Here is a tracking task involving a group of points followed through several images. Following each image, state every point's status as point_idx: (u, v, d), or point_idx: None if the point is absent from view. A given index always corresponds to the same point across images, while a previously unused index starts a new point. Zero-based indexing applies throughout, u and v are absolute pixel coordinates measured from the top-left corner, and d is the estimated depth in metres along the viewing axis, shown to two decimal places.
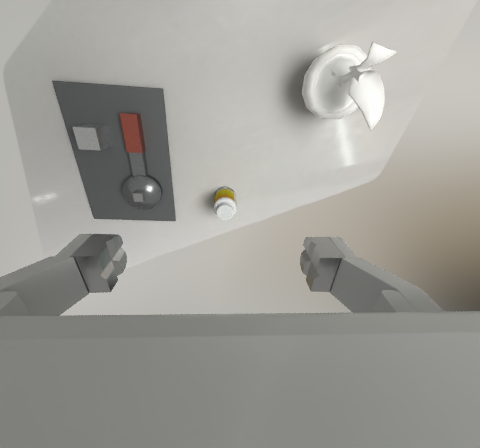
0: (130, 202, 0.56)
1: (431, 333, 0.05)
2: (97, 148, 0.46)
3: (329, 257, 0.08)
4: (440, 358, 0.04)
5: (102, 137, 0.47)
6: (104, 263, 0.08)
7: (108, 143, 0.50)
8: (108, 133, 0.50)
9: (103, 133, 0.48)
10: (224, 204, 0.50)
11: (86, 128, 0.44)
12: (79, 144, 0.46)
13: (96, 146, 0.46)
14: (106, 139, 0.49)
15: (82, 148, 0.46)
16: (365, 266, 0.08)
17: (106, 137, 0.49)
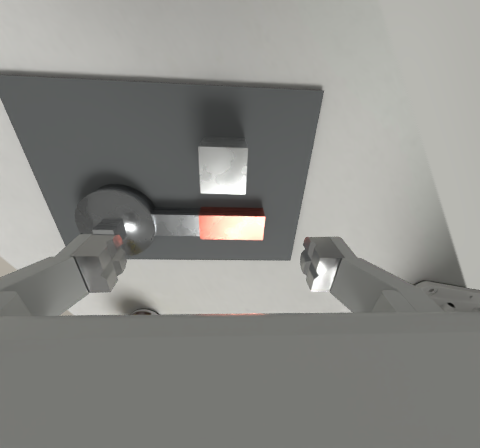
0: (85, 202, 0.25)
1: (431, 333, 0.05)
2: (204, 188, 0.21)
3: (329, 257, 0.08)
4: (440, 358, 0.04)
5: None
6: (104, 263, 0.08)
7: None
8: None
9: None
10: None
11: (244, 177, 0.21)
12: (209, 151, 0.19)
13: (208, 187, 0.21)
14: None
15: (201, 155, 0.20)
16: (365, 266, 0.08)
17: None
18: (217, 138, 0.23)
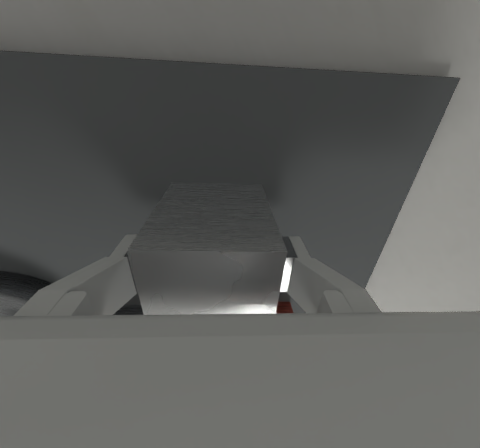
0: None
1: (431, 333, 0.05)
2: None
3: None
4: (440, 358, 0.04)
5: None
6: None
7: None
8: None
9: None
10: None
11: (270, 312, 0.08)
12: (165, 262, 0.06)
13: None
14: None
15: (140, 271, 0.06)
16: (316, 266, 0.08)
17: None
18: (200, 190, 0.10)
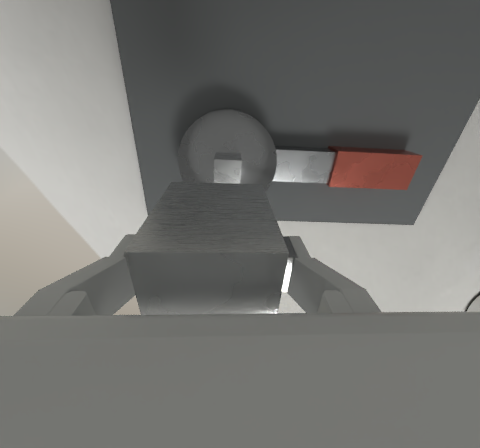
0: (198, 126, 0.18)
1: (431, 333, 0.05)
2: None
3: None
4: (440, 358, 0.04)
5: None
6: None
7: None
8: None
9: None
10: None
11: None
12: (164, 264, 0.06)
13: None
14: None
15: (138, 273, 0.06)
16: (316, 266, 0.08)
17: None
18: (199, 190, 0.10)
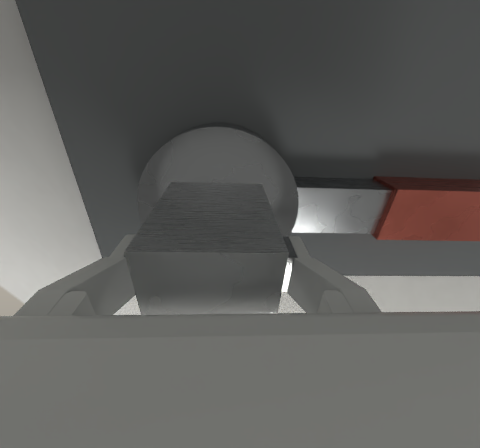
0: (168, 154, 0.11)
1: (431, 333, 0.05)
2: None
3: None
4: (440, 358, 0.04)
5: None
6: None
7: None
8: None
9: None
10: None
11: None
12: (164, 264, 0.06)
13: None
14: None
15: (138, 273, 0.06)
16: (316, 266, 0.08)
17: None
18: (199, 190, 0.10)
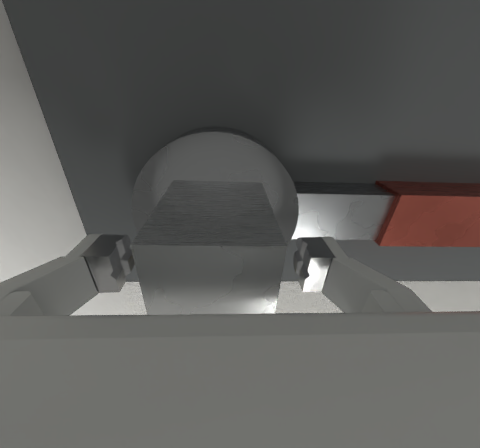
0: (162, 161, 0.10)
1: (431, 333, 0.05)
2: None
3: (320, 257, 0.08)
4: (440, 358, 0.04)
5: None
6: (114, 263, 0.08)
7: None
8: None
9: None
10: None
11: (270, 307, 0.08)
12: (168, 256, 0.06)
13: None
14: None
15: (143, 265, 0.06)
16: (356, 266, 0.08)
17: None
18: (201, 187, 0.10)
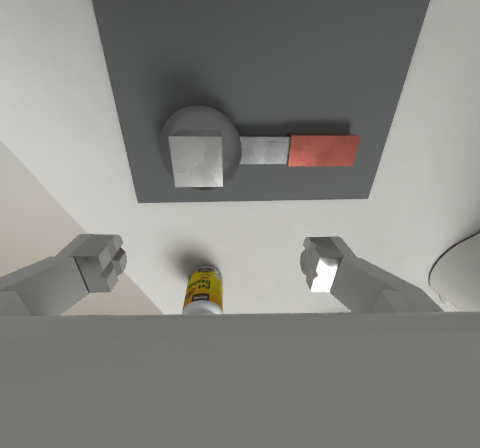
0: (174, 119, 0.23)
1: (431, 333, 0.05)
2: (179, 181, 0.20)
3: (329, 257, 0.08)
4: (440, 358, 0.04)
5: None
6: (104, 263, 0.08)
7: None
8: None
9: None
10: None
11: (220, 167, 0.20)
12: (181, 141, 0.18)
13: (183, 180, 0.20)
14: None
15: (172, 146, 0.19)
16: (365, 266, 0.08)
17: None
18: (192, 130, 0.22)
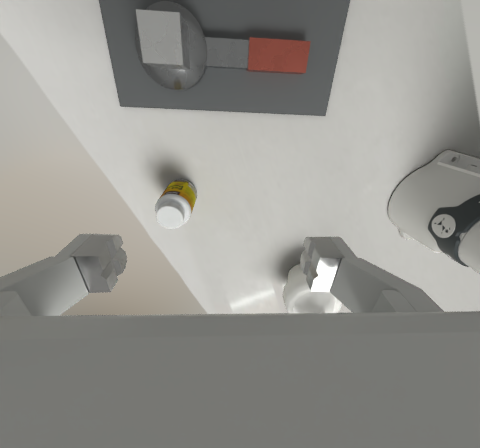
0: None
1: (431, 333, 0.05)
2: (146, 56, 0.24)
3: (329, 257, 0.08)
4: (440, 358, 0.04)
5: (168, 66, 0.26)
6: (104, 263, 0.08)
7: (159, 67, 0.28)
8: (177, 69, 0.29)
9: (175, 67, 0.27)
10: (183, 216, 0.33)
11: (180, 45, 0.24)
12: (146, 15, 0.23)
13: (149, 55, 0.24)
14: (165, 67, 0.28)
15: (139, 19, 0.23)
16: (365, 266, 0.08)
17: (169, 67, 0.28)
18: None
